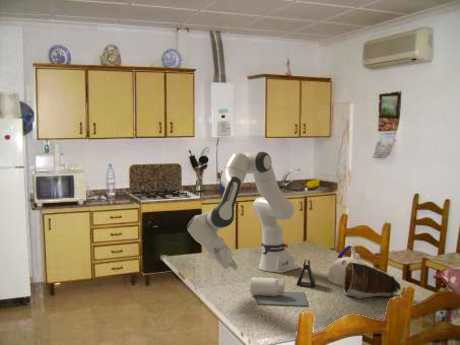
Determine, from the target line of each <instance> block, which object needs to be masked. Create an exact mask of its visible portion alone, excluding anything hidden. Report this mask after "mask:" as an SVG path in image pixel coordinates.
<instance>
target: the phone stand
mask: <svg viewBox="0 0 460 345" xmlns="http://www.w3.org/2000/svg"><path fill="white" fill-rule="evenodd" d="M306 270H307V273H308V277H309V281H302V280H303V277H304V274H305V271H306ZM296 281H297V282H296V286H297V287H307V288H315V287H316V284H317V283H316V279H315V276H314V273H313V271H312V268H311V261H310V259H308V260H307V259H304V261H303V266H302V270H301V272H300V274H299V276H298V279H297V280H296Z"/></svg>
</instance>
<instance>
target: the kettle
mask: <svg viewBox="0 0 460 345" xmlns="http://www.w3.org/2000/svg"><path fill="white" fill-rule="evenodd" d="M349 250H351V251H350V252H351V255H350V257H348V256H347V257H344V256H345V254H346V252H347V251H349ZM337 258H338V259H337V260H334V262H333V263H332V264H331V266H330V267H329V270H328V275H327V280H328V281H329V282H330V283H332V284H335V285H337V286H342V287H344V278H345V268H346V266H347V264H348V263H357V264H362V265H364V264H363V263H362V262H361V261H360V259H361V255H360V253H357V252H356V248H355V247H354V246H353V245H346V246H345V247H344V248H343V249H342V250H341V251H340V252H339V254H338V256H337Z"/></svg>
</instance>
